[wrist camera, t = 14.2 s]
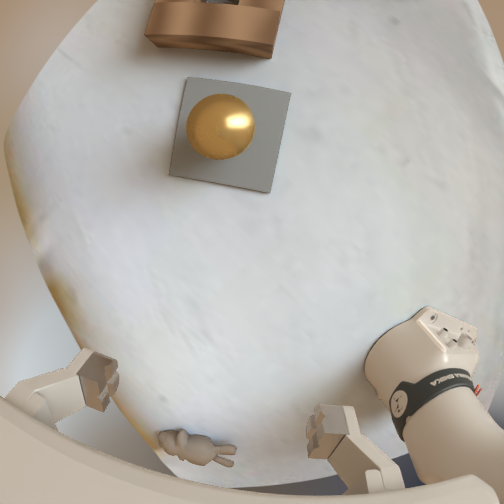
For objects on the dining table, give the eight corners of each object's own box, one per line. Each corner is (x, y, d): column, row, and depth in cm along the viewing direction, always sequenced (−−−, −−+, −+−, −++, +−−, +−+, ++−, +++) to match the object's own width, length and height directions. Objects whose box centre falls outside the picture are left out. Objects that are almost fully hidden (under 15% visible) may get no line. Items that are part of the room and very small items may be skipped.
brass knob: (260, 112, 31) (260, 99, 23) (250, 162, 33) (247, 165, 25) (208, 103, 31) (193, 89, 23) (198, 153, 32) (180, 154, 25)
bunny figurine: (153, 434, 44) (234, 456, 43) (163, 416, 49) (239, 435, 48) (158, 458, 47) (230, 477, 46) (166, 441, 52) (235, 458, 51)
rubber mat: (290, 93, 30) (291, 93, 30) (270, 192, 34) (270, 193, 34) (188, 78, 30) (187, 77, 29) (170, 174, 34) (169, 175, 33)
